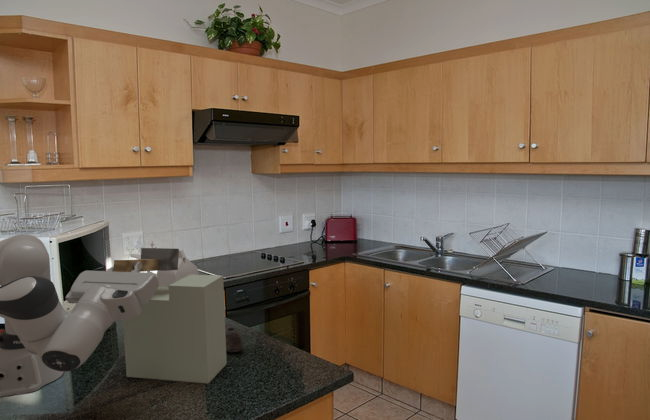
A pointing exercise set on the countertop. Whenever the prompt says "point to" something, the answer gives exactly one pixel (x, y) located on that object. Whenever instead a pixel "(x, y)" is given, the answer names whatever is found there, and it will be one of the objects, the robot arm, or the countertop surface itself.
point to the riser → (179, 332)
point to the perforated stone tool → (232, 339)
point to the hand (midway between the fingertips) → (131, 263)
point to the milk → (177, 271)
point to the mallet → (151, 260)
